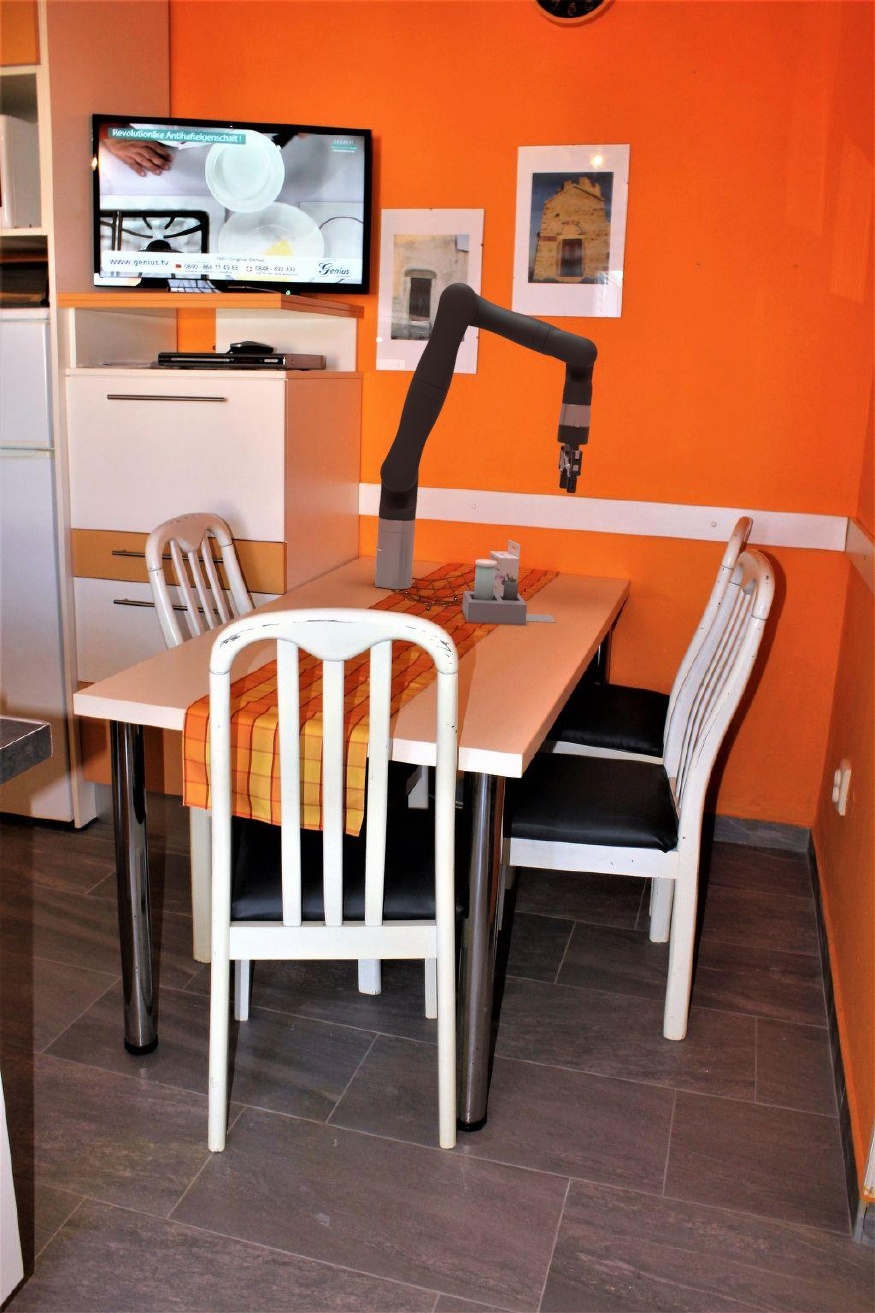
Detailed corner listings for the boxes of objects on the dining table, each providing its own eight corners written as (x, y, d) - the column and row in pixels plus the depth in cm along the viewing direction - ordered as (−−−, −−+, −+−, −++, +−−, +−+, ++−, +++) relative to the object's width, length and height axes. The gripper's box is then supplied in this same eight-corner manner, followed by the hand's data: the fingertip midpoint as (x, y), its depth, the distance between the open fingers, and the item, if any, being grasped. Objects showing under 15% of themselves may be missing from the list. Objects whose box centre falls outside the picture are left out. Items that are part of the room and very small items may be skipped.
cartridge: (472, 618, 251) (476, 562, 248) (470, 613, 256) (474, 558, 253) (493, 619, 252) (498, 563, 248) (491, 614, 256) (495, 559, 253)
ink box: (485, 597, 277) (490, 538, 273) (504, 597, 278) (509, 538, 275) (497, 605, 269) (502, 544, 265) (516, 605, 271) (521, 544, 267)
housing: (467, 624, 248) (469, 602, 246) (462, 612, 259) (463, 590, 258) (525, 626, 249) (527, 605, 248) (517, 614, 260) (519, 593, 259)
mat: (525, 623, 252) (525, 620, 252) (520, 616, 259) (520, 613, 259) (555, 624, 253) (555, 622, 253) (550, 617, 260) (550, 615, 260)
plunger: (503, 608, 252) (505, 584, 251) (501, 605, 255) (503, 581, 254) (517, 609, 252) (519, 585, 251) (515, 605, 255) (517, 582, 254)
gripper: (553, 420, 277) (546, 486, 281) (565, 424, 263) (557, 493, 267) (582, 422, 277) (575, 488, 282) (596, 426, 264) (588, 495, 268)
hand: (567, 490), depth 274 cm, fingers open, 8 cm apart
